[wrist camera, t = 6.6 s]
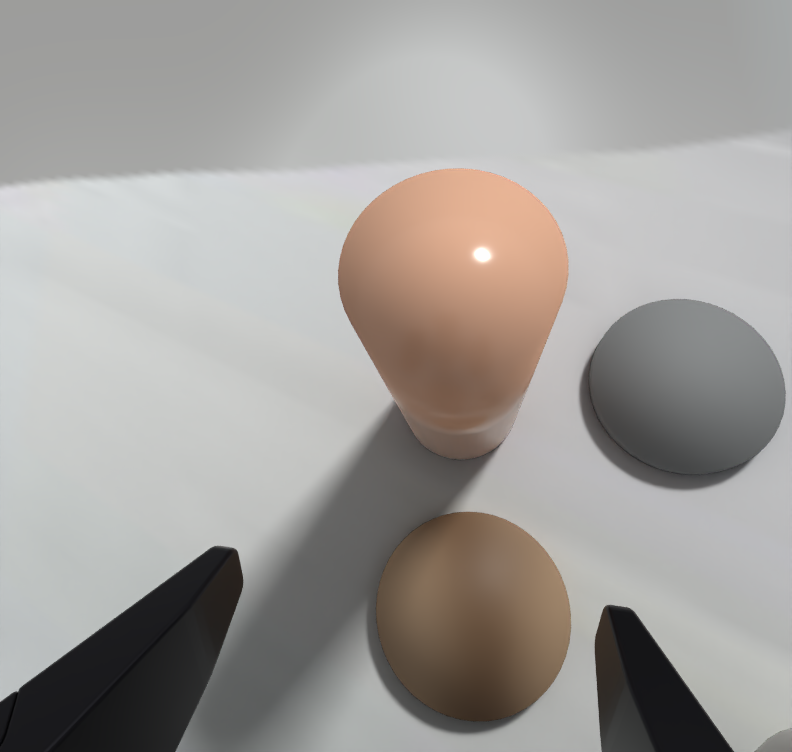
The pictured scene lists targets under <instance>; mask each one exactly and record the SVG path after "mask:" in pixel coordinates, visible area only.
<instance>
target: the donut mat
mask: <svg viewBox="0 0 792 752" xmlns="http://www.w3.org/2000/svg"><path fill="white" fill-rule="evenodd" d="M376 621H377V628H378V634H379V638H380V642H381V645H382V648H383V651H384V653H385V656H386V658H387V661H388V662H389V664H390V666H391V668H392V670H393V671H394V673H395V674H396V676H397V677H398V679H399V680H400V681H401V683H402V684H403V685H404V686H405V687H406V688H407V689H408V690H409V691H410V692H411V694H412V695H414V696H415V697H416V698H417V699H419V700H420V701H421V702H422V703H424V704H425V705H427V706H429V707H430V708H432V709H433V710H435V711H437V712H440V713H442V714H444V715H446V716H449V717H453V718H456V719H460V720H467V721H492V720H498V719H502V718H505V717H508V716H511V715H514V714H516V713H518V712H520V711H522V710H524V709H525V708H527V707H528V706H530V705H531V704H533V703H534V702H535V701H536V700H538V699H539V698H540V697H541V696H542V695H543V694H544V693H545V692H546V691H547V689H548V688H549V687H550V685H551V684H552V683H553V682H554V680H555V678H556V676H557V675H558V673H559V671H560V669H561V667H562V665H563V662H564V660H565V657H566V653H567V650H568V646H569V640H570V632H571V613H570V606H569V599H568V596H567V592H566V588H565V585H564V583H563V580H562V577H561V575H560V573H559V571H558V569H557V567H556V565H555V564H554V562H553V560H552V559H551V558H550V556H549V555H548V553H547V552H546V551H545V550H544V548H543V547H542V546H541V545H540V544H539V543H538V542H537V541H536V540H535V539H534V538H533V537H532V536H530V535H529V534H528V533H527V532H525V531H524V530H523V529H521V528H520V527H518V526H517V525H515V524H513V523H511V522H509V521H507V520H505V519H502V518H499V517H496V516H493V515H489V514H484V513H477V512H457V513H452V514H446V515H443V516H440V517H437V518H434V519H432V520H430V521H428V522H426V523H424V524H422V525H421V526H419V527H418V528H416V529H415V530H413V531H412V532H411V533H410V534H409V535H408V536H407V537H406V538H404V540H403V541H402V542H401V543H400V544H399V545H398V547H397V548H396V549H395V551H394V552H393V554H392V555H391V557H390V558H389V560H388V562H387V564H386V567H385V569H384V571H383V574H382V577H381V580H380V583H379V588H378V593H377V602H376Z"/></svg>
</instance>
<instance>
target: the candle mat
mask: <svg viewBox="0 0 792 752" xmlns="http://www.w3.org/2000/svg"><path fill="white" fill-rule="evenodd" d="M589 389H590V395H591V400H592V403H593V407H594V410H595V412H596V414H597V416H598V418H599V420H600V422H601V424H602V425H603V427H604V428H605V430H606V431H607V433H608V434H609V435H610V436H611V437H612V439H613V440H614V441H615V442H616V443H617V444H618V445H619V446H620V447H621V448H623V449H624V450H625V451H626V452H628V453H629V454H630V455H632V456H633V457H635V458H637V459H638V460H640V461H642V462H643V463H646V464H648V465H650V466H652V467H655V468H658V469H661V470H664V471H667V472H672V473H678V474H689V475H698V474H709V473H714V472H719V471H723V470H726V469H729V468H732V467H735V466H738V465H740V464H742V463H744V462H746V461H748V460H749V459H751V458H752V457H754V456H755V455H757V454H758V453H759V452H760V451H761V450H762V449H763V448H764V447H765V446H766V445H767V444H768V443H769V442H770V440H771V439H772V438H773V436H774V435H775V433H776V431H777V429H778V427H779V425H780V422H781V420H782V417H783V413H784V408H785V394H786V391H785V383H784V378H783V374H782V371H781V368H780V365H779V363H778V361H777V358H776V356H775V355H774V353H773V351H772V350H771V348H770V346H769V345H768V344H767V342H766V341H765V340H764V339H763V337H762V336H761V335H760V334H759V333H758V332H757V331H756V330H755V329H754V328H753V327H751V326H750V325H749V324H748V323H747V322H745V321H744V320H742V319H741V318H739V317H738V316H736V315H735V314H733V313H731V312H729V311H727V310H725V309H723V308H720V307H718V306H715V305H712V304H709V303H705V302H701V301H695V300H687V299H670V300H661V301H656V302H652V303H649V304H646V305H643V306H640V307H638V308H636V309H634V310H632V311H630V312H629V313H627V314H626V315H624V316H623V317H621V318H620V319H619V320H618V321H617V322H615V323H614V324H613V325H612V326H611V328H610V329H609V330H608V331H607V332H606V334H605V335H604V337H603V338H602V340H601V341H600V343H599V344H598V346H597V348H596V350H595V353H594V355H593V358H592V362H591V365H590V372H589Z"/></svg>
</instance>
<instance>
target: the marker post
mask: <svg viewBox="0 0 792 752" xmlns="http://www.w3.org/2000/svg"><path fill="white" fill-rule="evenodd" d="M567 280H568V255H567V249H566V245H565V242H564V238H563V235H562V233H561V230H560V228H559V226H558V224H557V222H556V220H555V219H554V218H553V216H552V215H551V213H550V212H549V210H548V209H547V208H546V207H545V206H544V205H543V204H542V202H541V201H540V200H539V199H538V198H536V197H535V196H534V195H533V194H532V193H530V192H529V191H528V190H526V189H525V188H523V187H522V186H520V185H519V184H517V183H515V182H513V181H511V180H509V179H507V178H505V177H502V176H499V175H496V174H493V173H489V172H485V171H480V170H473V169H443V170H435V171H431V172H427V173H423V174H419V175H416V176H414V177H411V178H408V179H406V180H404V181H402V182H400V183H398V184H396V185H394V186H392V187H391V188H389V189H388V190H386V191H385V192H383V193H382V194H381V195H379V196H378V197H377V198H376V199H375V200H373V201H372V202H371V203H370V204H369V205H368V206H367V207H366V208H365V209H364V211H363V212H362V213H361V214H360V216H359V217H358V218H357V220H356V221H355V222H354V224H353V226H352V228H351V229H350V231H349V233H348V235H347V238H346V240H345V242H344V245H343V248H342V252H341V256H340V261H339V269H338V285H339V291H340V297H341V300H342V303H343V307H344V310H345V312H346V314H347V316H348V318H349V320H350V322H351V324H352V326H353V328H354V329H355V331H356V333H357V335H358V337H359V338H360V340H361V342H362V344H363V345H364V347H365V349H366V351H367V352H368V354H369V356H370V358H371V360H372V361H373V363H374V365H375V367H376V368H377V370H378V372H379V374H380V376H381V377H382V379H383V381H384V383H385V384H386V386H387V388H388V390H389V391H390V393H391V395H392V397H393V399H394V400H395V402H396V404H397V406H398V407H399V409H400V411H401V413H402V414H403V416H404V418H405V420H406V422H407V423H408V425H409V427H410V429H411V430H412V432H413V434H414V435H415V437H416V438H417V439H418V440H419V441H420V443H421V444H423V445H424V446H425V447H426V448H427V449H429V450H430V451H432V452H434V453H436V454H438V455H440V456H443V457H446V458H451V459H460V460H463V459H472V458H476V457H479V456H482V455H485V454H487V453H489V452H490V451H492V450H493V449H495V448H496V447H497V446H499V445H500V444H501V443H502V442H503V441H504V439H505V438H506V437H507V435H508V434H509V432H510V431H511V428H512V426H513V424H514V421H515V419H516V416H517V414H518V411H519V409H520V406H521V404H522V401H523V399H524V396H525V394H526V391H527V389H528V386H529V384H530V381H531V379H532V376H533V374H534V371H535V369H536V366H537V364H538V361H539V359H540V356H541V354H542V351H543V349H544V346H545V344H546V341H547V339H548V336H549V334H550V331H551V329H552V326H553V324H554V321H555V319H556V316H557V314H558V311H559V309H560V306H561V304H562V301H563V298H564V294H565V291H566V287H567Z"/></svg>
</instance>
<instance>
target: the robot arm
mask: <svg viewBox="0 0 792 752" xmlns="http://www.w3.org/2000/svg"><path fill="white" fill-rule="evenodd" d="M242 588H243V575H242V570H241V565H240V560H239V555H238V552H237V550H236V549H234V548H230V547H224V546H214V547H212V548H210V549H209V550H207V551H206V552H205V553H203V554H202V555H200V556H199V557H198V558H196V559H195V560H194V561H192V562H191V563H190V564H188V565H187V566H185V567H184V568H183V569H181V570H180V571H179V572H177V573H176V574H175V575H173V576H172V577H170V578H169V579H168V580H166V581H165V582H164V583H162V584H161V585H160V586H158V587H157V588H155V589H154V590H153V591H151V592H150V593H149V594H147V595H146V596H145V597H143V598H142V599H140V600H139V601H138V602H136V603H135V604H134V605H132V606H131V607H129V608H128V609H127V610H125V611H124V612H123V613H121V614H120V615H119V616H117V617H116V618H114V619H113V620H112V621H110V622H109V623H108V624H106V625H105V626H104V627H102V628H101V629H99V630H98V631H97V632H95V633H94V634H93V635H91V636H90V637H89V638H87V639H86V640H84V641H83V642H82V643H80V644H79V645H78V646H76V647H75V648H73V649H72V650H71V651H69V652H68V653H67V654H65V655H64V656H63V657H61V658H60V659H58V660H57V661H56V662H54V663H53V664H52V665H50V666H49V667H48V668H46V669H45V670H43V671H42V672H41V673H39V674H38V675H37V676H35V677H34V678H33V679H31V680H30V681H28V682H27V683H26V684H24V685H23V686H22V687H21V688H20V689H19V691H18V692H17V691H16V692H13V693H12V694H10V695H9V696H8V697H6V698H5V699H4V700H2V701H1V702H0V752H175V751H176V749H177V747H178V745H179V743H180V741H181V739H182V737H183V734H184V732H185V730H186V728H187V726H188V724H189V722H190V720H191V718H192V715H193V713H194V711H195V709H196V707H197V705H198V703H199V701H200V699H201V697H202V694H203V692H204V690H205V688H206V686H207V684H208V681H209V679H210V677H211V675H212V672H213V670H214V667H215V664H216V662H217V659H218V656H219V653H220V651H221V648H222V645H223V642H224V640H225V637H226V634H227V631H228V628H229V626H230V623H231V620H232V617H233V614H234V612H235V609H236V606H237V603H238V601H239V598H240V595H241V592H242ZM595 661H596V677H597V692H598V708H599V723H600V737H601V749H602V752H734V751H733V750H732V748H731V747H730V745H729V744H728V743H727V741H726V740H725V738H724V737H723V736H722V734H721V733H720V731H719V730H718V729H717V727H716V726H715V724H714V723H713V722H712V720H711V719H710V717H709V716H708V714H707V713H706V712H705V710H704V709H703V707H702V706H701V705H700V703H699V702H698V700H697V699H696V698H695V696H694V695H693V693H692V692H691V691H690V689H689V688H688V686H687V685H686V684H685V682H684V681H683V679H682V678H681V676H680V675H679V674H678V672H677V671H676V669H675V668H674V667H673V665H672V664H671V662H670V661H669V660H668V658H667V657H666V655H665V654H664V653H663V651H662V650H661V648H660V647H659V646H658V644H657V643H656V641H655V640H654V639H653V637H652V636H651V634H650V633H649V631H648V630H647V629H646V627H645V626H644V624H643V623H642V622H641V620H640V619H639V617H638V616H637V615H636V613H635V612H634V611H633V610H632V609H630V608H627V607H621V606H614V605H607V606H605V607H604V609H603V612H602V615H601V619H600V622H599V626H598V629H597V633H596V637H595Z"/></svg>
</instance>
